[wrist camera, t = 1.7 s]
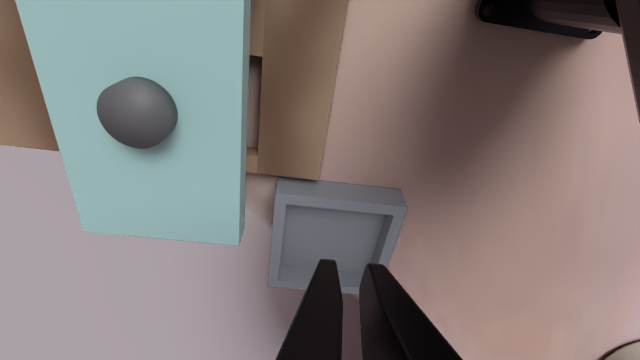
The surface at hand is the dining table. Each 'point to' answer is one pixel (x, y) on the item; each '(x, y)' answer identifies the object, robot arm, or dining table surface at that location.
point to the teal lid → (148, 111)
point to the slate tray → (331, 230)
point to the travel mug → (626, 352)
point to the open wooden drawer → (265, 41)
